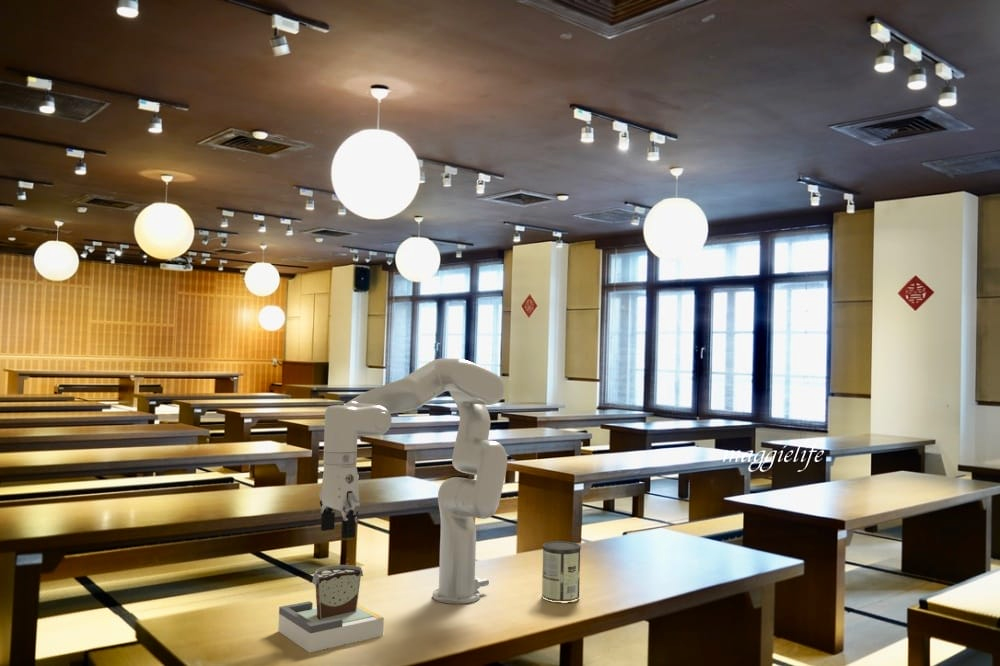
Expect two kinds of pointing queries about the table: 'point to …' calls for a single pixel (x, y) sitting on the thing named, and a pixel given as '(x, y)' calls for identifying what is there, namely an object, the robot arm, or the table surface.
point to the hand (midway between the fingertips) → (337, 533)
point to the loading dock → (327, 626)
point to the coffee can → (561, 571)
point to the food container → (337, 590)
